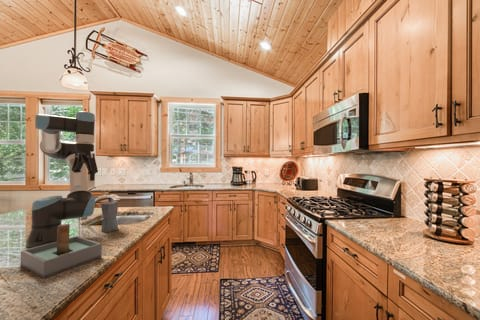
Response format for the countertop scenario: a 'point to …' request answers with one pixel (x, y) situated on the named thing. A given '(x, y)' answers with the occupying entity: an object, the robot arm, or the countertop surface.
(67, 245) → the walnut peg
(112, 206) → the moka pot
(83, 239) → the bore box
